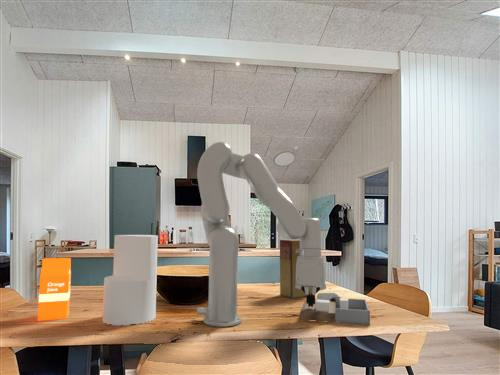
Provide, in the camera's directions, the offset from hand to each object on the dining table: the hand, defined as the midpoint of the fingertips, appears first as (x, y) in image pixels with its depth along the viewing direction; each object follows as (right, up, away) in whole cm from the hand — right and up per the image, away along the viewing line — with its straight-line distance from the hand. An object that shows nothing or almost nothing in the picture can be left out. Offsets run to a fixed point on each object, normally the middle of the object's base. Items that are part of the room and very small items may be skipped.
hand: (310, 305), depth 130 cm
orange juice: (-89, -3, -2) cm, 89 cm away
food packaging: (0, -8, +38) cm, 39 cm away
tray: (+15, -4, +1) cm, 15 cm away
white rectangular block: (+4, -1, -1) cm, 4 cm away
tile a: (+12, -2, +7) cm, 14 cm away
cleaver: (+13, -7, +28) cm, 32 cm away
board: (+4, -4, +4) cm, 7 cm away
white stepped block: (-62, -4, -3) cm, 63 cm away
